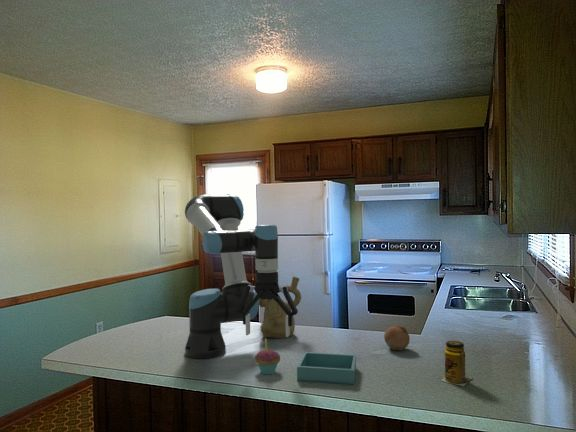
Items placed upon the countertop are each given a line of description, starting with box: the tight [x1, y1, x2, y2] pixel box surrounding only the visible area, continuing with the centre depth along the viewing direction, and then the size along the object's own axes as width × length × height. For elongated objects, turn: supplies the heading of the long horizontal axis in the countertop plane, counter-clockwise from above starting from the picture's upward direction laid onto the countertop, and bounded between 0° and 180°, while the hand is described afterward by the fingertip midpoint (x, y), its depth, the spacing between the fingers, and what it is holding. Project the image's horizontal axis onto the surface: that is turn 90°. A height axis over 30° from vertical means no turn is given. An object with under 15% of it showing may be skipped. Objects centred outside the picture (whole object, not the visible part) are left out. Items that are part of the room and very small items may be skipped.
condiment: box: [439, 340, 473, 387], centre depth 142 cm, size 7×8×12 cm
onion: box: [383, 325, 411, 352], centre depth 173 cm, size 10×9×10 cm
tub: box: [296, 351, 357, 386], centre depth 148 cm, size 18×15×4 cm
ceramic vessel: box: [259, 276, 302, 339], centre depth 194 cm, size 17×20×25 cm
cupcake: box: [254, 336, 281, 375], centre depth 151 cm, size 9×8×12 cm
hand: (267, 335), depth 150 cm, fingers open, 13 cm apart
